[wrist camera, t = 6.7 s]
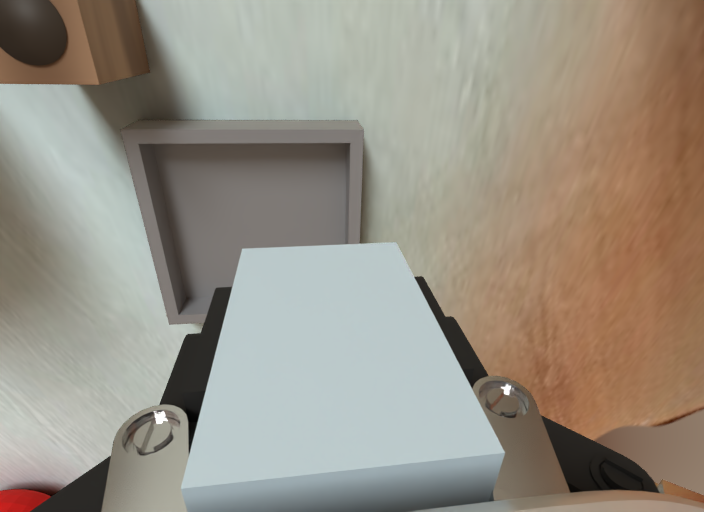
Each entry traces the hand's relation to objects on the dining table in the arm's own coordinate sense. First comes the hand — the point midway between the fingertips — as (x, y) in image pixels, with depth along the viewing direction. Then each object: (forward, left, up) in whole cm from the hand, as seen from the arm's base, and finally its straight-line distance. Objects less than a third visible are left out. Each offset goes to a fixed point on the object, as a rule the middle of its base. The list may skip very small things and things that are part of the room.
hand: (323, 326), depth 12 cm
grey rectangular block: (0, 0, -1) cm, 1 cm away
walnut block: (+12, -8, -18) cm, 23 cm away
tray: (+4, +4, -18) cm, 19 cm away
